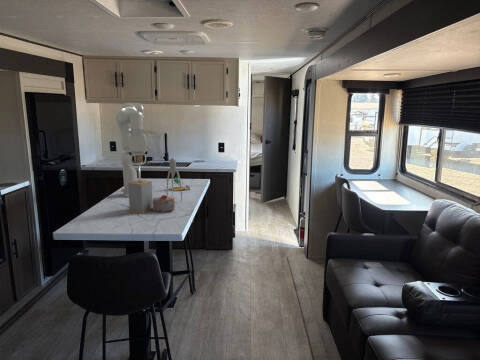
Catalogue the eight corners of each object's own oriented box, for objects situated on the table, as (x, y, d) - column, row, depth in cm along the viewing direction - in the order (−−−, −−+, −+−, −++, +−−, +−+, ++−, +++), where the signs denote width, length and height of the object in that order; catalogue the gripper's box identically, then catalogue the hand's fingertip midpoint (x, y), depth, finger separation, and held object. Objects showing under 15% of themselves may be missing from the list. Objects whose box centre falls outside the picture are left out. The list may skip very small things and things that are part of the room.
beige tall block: (127, 211, 223) (125, 183, 219) (140, 206, 234) (138, 179, 230) (143, 213, 218) (141, 184, 215) (155, 208, 229) (153, 181, 225)
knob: (131, 195, 222) (128, 155, 217) (139, 192, 229) (137, 153, 224) (141, 196, 219) (139, 156, 214) (149, 193, 226) (147, 154, 221)
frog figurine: (188, 192, 275) (185, 173, 272) (166, 193, 278) (163, 174, 275) (192, 189, 284) (189, 170, 281) (170, 190, 287) (168, 172, 284)
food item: (175, 208, 230) (175, 193, 228) (175, 212, 222) (174, 196, 220) (153, 209, 228) (153, 194, 226) (152, 212, 220) (151, 197, 218)
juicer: (179, 203, 242) (178, 159, 236) (166, 202, 244) (165, 158, 238) (184, 199, 252) (183, 156, 246) (172, 198, 254) (171, 156, 248)
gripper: (122, 133, 210) (124, 164, 213) (152, 132, 216) (153, 162, 219) (121, 132, 217) (123, 162, 220) (150, 131, 223) (152, 160, 226)
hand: (138, 162), depth 220 cm, fingers closed on knob, 5 cm apart
